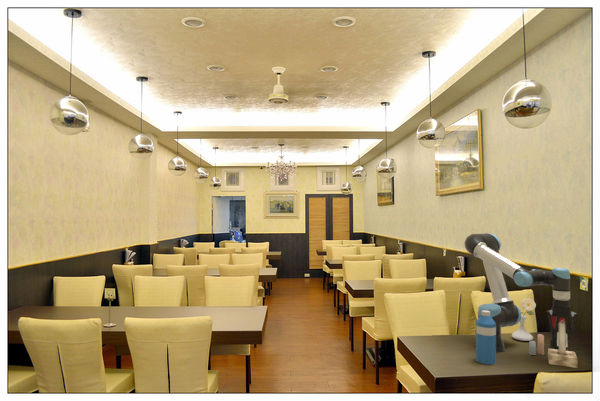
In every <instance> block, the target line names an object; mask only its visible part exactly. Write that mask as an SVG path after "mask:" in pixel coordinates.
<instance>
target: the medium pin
mask: <svg viewBox="0 0 600 401" xmlns="http://www.w3.org/2000/svg"><path fill="white" fill-rule="evenodd" d="M540 354H541V355H540ZM537 355H540V356H544V355H545V334H541V333H538V334H537Z"/></svg>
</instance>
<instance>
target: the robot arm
mask: <svg viewBox="0 0 600 401" xmlns="http://www.w3.org/2000/svg"><path fill="white" fill-rule="evenodd" d="M501 247H502V244H501V240H500V238H499V237H498V236H497V235H495V234H493V233H488V232H485V233H471V234H470V235H468V236H466V238H465V240H464V248H465V250H466V251H467V253H469V254H470V255H472V256H473V257H475V258H479V259H480V260H482V263H483V267H484V271H485V274H486V275H485V276H486V278H487V281H488V285H489V290H490V292H491V295H492V296H491V297H492V299H493V300H492V302H491V303H483V304H481V305H479V306H478V309H477V310H478V311H477V319H478V318H479V317H480V316H481V311H483V310H484V311H490V316H491V317H492V319H493V320H494V322H495V323H496V353H499V352H500V353H501V352H505V348H506V347H505V343H504V340H503V337H502V328H507V327H513V326H516V325H517V324H520V320H521V315H522V313H521V312H522V311H521V309H520V307H519V306H518V305H516V304H515V303H514V300H513V299H512V298H510V296H509V292H508V288H507V285H506V281H505V278H504V275H503V273H504V274H505V275H507V276H508V277H510V278H511V279H513V281H514V282H513V283H515V284H516V285H517V286H518V287H523V288H524V287H525V288H526V287H527V288H528V287H533V286H551V287H552V297H553V299H552V306H553V308H552V307H551V308H552V310H551V309H549V310H546V313H547V316H548V323H549V331H550V330H551V331H553V332H554V338H555V339H557V346H559V332H557V330H558V324H559V318H564V320H565V325H566V330H567V333H566V334H565V336H566V347H568V348H569V342H568V341H570V340H571V334H575V327H576V318H577V316H578V314H577V312H574V311H572V309H571V274H570V269H568V268H564V267H553V268H552V270H545V269H537V268H536V269H535V268H534V269H533V268H532V269H531V270H527V269H526V268H524V267H522V266H521V265H519V264H517V263H516V262H513V261H512V260H511V259H509V258H507V257H505V256H504V255H502V254H501V253H500V250H501ZM552 312H553V313H554V314H555V315H556V322H555V328H554V329H553V325H552V317H551V315H552ZM570 315H571V317H572V318H571V324H570V325H571V326H570V325H569V318H568V317H570ZM551 331H550V332H551ZM474 347H475V348H476V339H475V341H474Z"/></svg>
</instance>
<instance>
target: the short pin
mask: <svg viewBox="0 0 600 401" xmlns="http://www.w3.org/2000/svg"><path fill="white" fill-rule="evenodd" d="M536 344H537V342H536V340H535V341H534V340H530V341H529V342H528V349H529V350H528V352H529V354H530V355H529V356H531V355H536V354H537V351H536V348H537V347H536Z"/></svg>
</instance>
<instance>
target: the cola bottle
mask: <svg viewBox="0 0 600 401" xmlns="http://www.w3.org/2000/svg"><path fill="white" fill-rule="evenodd" d="M552 308H553V305H552V306H551V308H550V310H552ZM551 317H552V325H553V329H554V328H555V322H556V315H555V314H554V313H553V312H552V315H551ZM559 323H565V320H564V318H559ZM549 331H550V336H551V338H550V342H549V345H550V349H557V350H559V346H557V339H555V338H554V332H553V331H551V330H550V329H549ZM557 332H559V328H558V330H557ZM565 332H566V333H567V330H566V325H565ZM568 349H569V346H568V347H566V351H568Z"/></svg>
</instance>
